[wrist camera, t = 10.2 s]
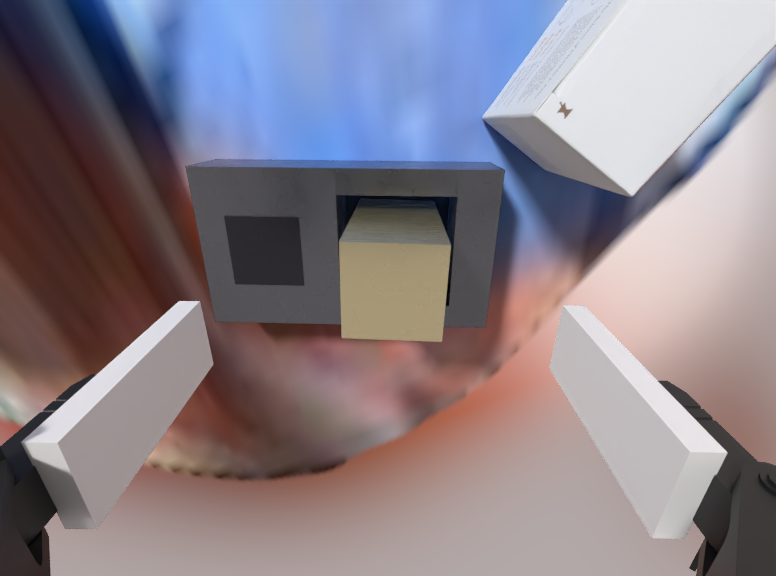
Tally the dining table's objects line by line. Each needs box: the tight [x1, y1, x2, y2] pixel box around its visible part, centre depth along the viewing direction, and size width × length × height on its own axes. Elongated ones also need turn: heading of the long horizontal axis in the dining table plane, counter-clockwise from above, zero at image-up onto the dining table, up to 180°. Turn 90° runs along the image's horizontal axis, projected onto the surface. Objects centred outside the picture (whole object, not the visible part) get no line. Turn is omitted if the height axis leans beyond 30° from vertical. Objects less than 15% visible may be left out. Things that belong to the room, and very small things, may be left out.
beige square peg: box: [339, 199, 451, 342], centre depth 23 cm, size 5×5×10 cm
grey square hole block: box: [185, 159, 505, 328], centre depth 26 cm, size 18×10×4 cm, turn 90°
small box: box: [482, 0, 776, 197], centre depth 19 cm, size 8×6×10 cm
